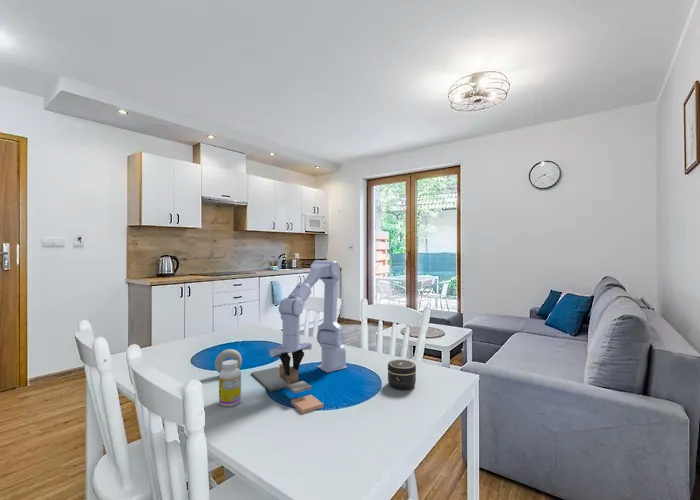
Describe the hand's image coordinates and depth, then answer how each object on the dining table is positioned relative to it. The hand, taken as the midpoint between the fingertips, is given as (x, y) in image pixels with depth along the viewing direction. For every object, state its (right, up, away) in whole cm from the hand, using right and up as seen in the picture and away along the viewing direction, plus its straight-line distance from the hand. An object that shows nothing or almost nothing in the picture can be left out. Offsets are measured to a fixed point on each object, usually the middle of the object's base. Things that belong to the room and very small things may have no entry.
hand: (291, 373), depth 117 cm
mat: (-8, -6, +12) cm, 16 cm away
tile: (+4, -6, -6) cm, 10 cm away
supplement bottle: (-18, -7, -7) cm, 21 cm away
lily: (-10, -6, +43) cm, 44 cm away
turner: (0, -3, -1) cm, 3 cm away
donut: (-27, -7, +16) cm, 32 cm away
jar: (+38, -7, +6) cm, 39 cm away
